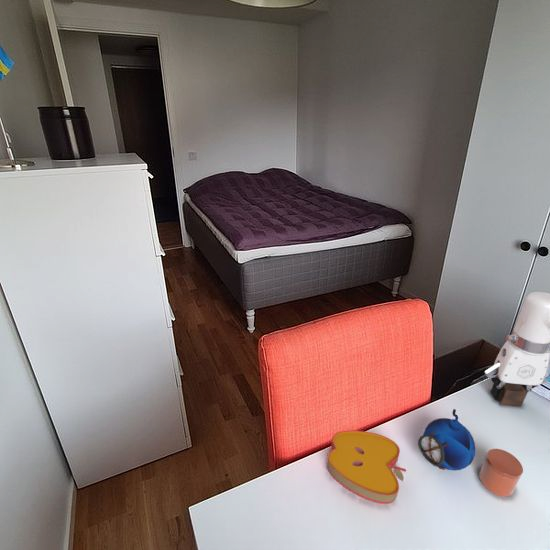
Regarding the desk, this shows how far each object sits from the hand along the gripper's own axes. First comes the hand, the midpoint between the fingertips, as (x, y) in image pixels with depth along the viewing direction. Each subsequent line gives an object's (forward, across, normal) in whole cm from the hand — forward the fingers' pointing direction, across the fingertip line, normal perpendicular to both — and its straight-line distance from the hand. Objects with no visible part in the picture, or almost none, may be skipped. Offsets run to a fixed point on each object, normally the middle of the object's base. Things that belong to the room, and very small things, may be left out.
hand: (506, 397), depth 90 cm
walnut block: (0, 0, 0) cm, 0 cm away
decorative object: (-1, -48, -24) cm, 54 cm away
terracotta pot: (0, -14, -25) cm, 29 cm away
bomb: (+1, -23, -22) cm, 32 cm away
